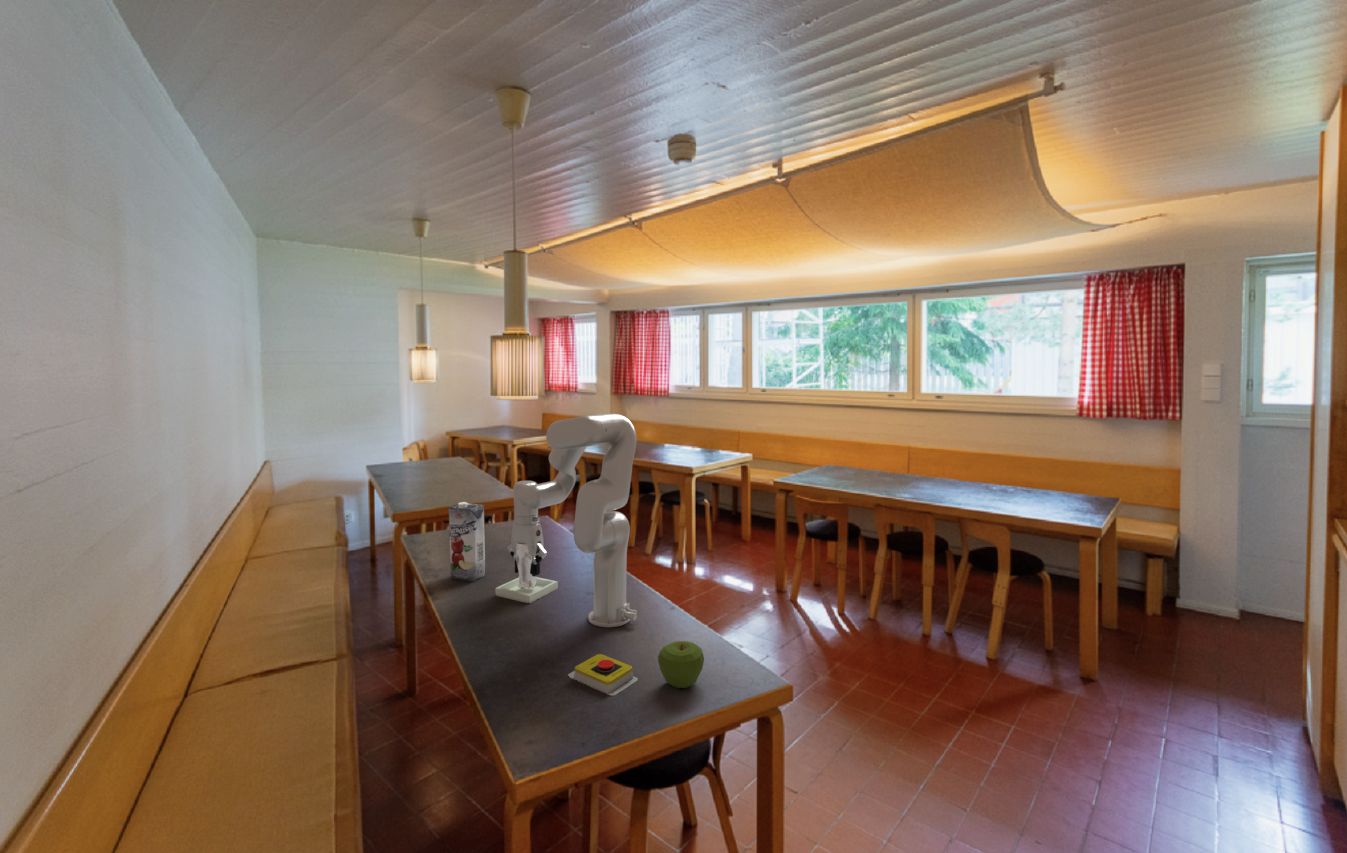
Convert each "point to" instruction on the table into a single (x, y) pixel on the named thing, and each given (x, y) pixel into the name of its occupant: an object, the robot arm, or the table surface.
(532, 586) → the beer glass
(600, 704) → the table surface
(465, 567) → the juice carton
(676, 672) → the apple
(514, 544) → the robot arm
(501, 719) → the table surface
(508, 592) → the sage tray
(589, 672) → the emergency button
